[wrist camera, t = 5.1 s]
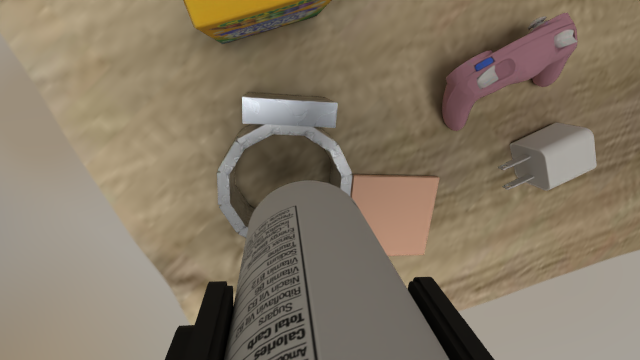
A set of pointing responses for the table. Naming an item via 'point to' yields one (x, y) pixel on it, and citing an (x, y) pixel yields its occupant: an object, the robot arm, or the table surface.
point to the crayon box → (248, 15)
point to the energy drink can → (321, 285)
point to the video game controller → (510, 66)
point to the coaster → (397, 209)
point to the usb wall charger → (552, 156)
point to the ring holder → (280, 119)
